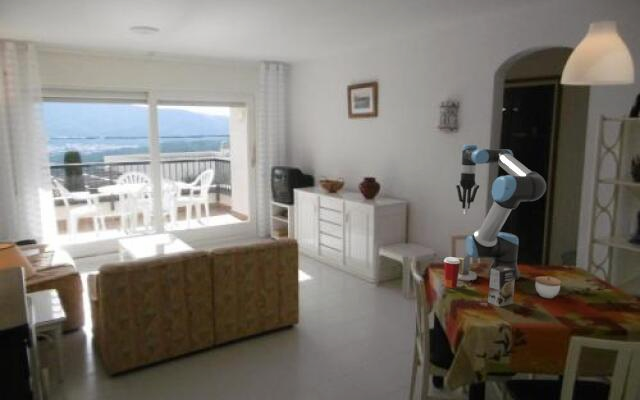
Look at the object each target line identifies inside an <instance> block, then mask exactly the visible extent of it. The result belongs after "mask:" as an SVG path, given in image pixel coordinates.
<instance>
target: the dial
mask: <svg viewBox="0 0 640 400" xmlns="http://www.w3.org/2000/svg"><path fill="white" fill-rule="evenodd" d="M457 258H458V259H459V260H460V264H459V272H458V274H461V275H468V274H469V271H470V270H469V268H470V263H471V262H470V261H471V257H470V256H469V254H468V252H465V253H464V254H462V255H461V256H460V257H457Z"/></svg>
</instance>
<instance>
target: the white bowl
mask: <svg viewBox="0 0 640 400" xmlns="http://www.w3.org/2000/svg"><path fill="white" fill-rule="evenodd" d="M534 279H535V284H534V285H535V290H536V293H538V294H539V296H540V297H541V298H546V299H553V298H554V297H556V296H557V295H559V292H560V291H561V285H562V281H561V280H560V279H558V278H554V277H551V276H549V275H548V276H543V275H542V276H536V277H535V278H534Z"/></svg>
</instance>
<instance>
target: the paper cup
mask: <svg viewBox="0 0 640 400" xmlns="http://www.w3.org/2000/svg"><path fill="white" fill-rule="evenodd" d="M458 258H459V257H453V256H448V257H447V256H446V257H445V258H444V260H443V262H444V287H445V288H448V289H456V288H457V286H458V281H459V280H458V272H459V264H460V260H459V259H458Z"/></svg>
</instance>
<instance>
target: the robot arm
mask: <svg viewBox="0 0 640 400" xmlns="http://www.w3.org/2000/svg"><path fill="white" fill-rule="evenodd" d="M461 151H462V153H461V156H462V157H461V170H460V171H461V174H460V181H459V183H458V184H455V188H456V191H457V196H458V201H459V202H460V203H461V204H462V206H461V208H462V209H463V215H466V216H468V213H469V210H470V208H471V203H474V201H475V198H476V196H477V195H476V194H477V192H478V189H479V188H480V185H478V184H477V183H476V169H477V167H476V166H477V165H483V164H495V165H496V164H497V165H498V166H499V167H501V168H502V169H503V170H504V171H505V172H506V173H507V175H500V176H499V177H497V178H495V179H494V182H493V183H492V185H491V188H492V189H491V196H492V199H493V203H492V206H491V207H490V209H489V211H488V213H487V215H486V217H485V219H484V221H483V223H482V225H480V226H481V227H480V228H478V229H477V230H475V231H474V234H473V235H470V234H469V235H468V236H467V237H466V239H465V248H466V253H468V254H469V256H470V258H473V259H491V258H492V262H491V265H490V267H489V269H488V276H489V277H490V274H491V268H495V267H501V266H506V267H510V268H513V269H516V272H515V281H517V280H519V279H520V272H519V271H520V270H519V268H518V252H519V237H518V236H517V235H515V234H512V233H509V232H503V231H501V230H502V228H503V226H504V224H505V223H506V221H507V219H508V217H509V215H510V214H511V212H512V210H515V209H517V208H518V206H519V205H520V204H521V202H533V201H537V200H539V199H540V198H542V197H543V195H545V192H546V190H547V182H546V181H545V179H544V177H543V176H542V175H540V173H538V172H536V171H532V170H531V169H528V167H526V166H525V165H524V164H523V163H521V162H520V161H519V160H517V159H516V158H515V157H514V153H513V151H512V150H510V149H504V148H503V149H500V148H499V149H496V148H495V149H491V148H490V149H488V148H487V149H486V148H484V149H483V148H478V146H477V145H476V144H464V145H463V146H462V150H461ZM461 188H462V190H461ZM472 189H473V190H472Z"/></svg>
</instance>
